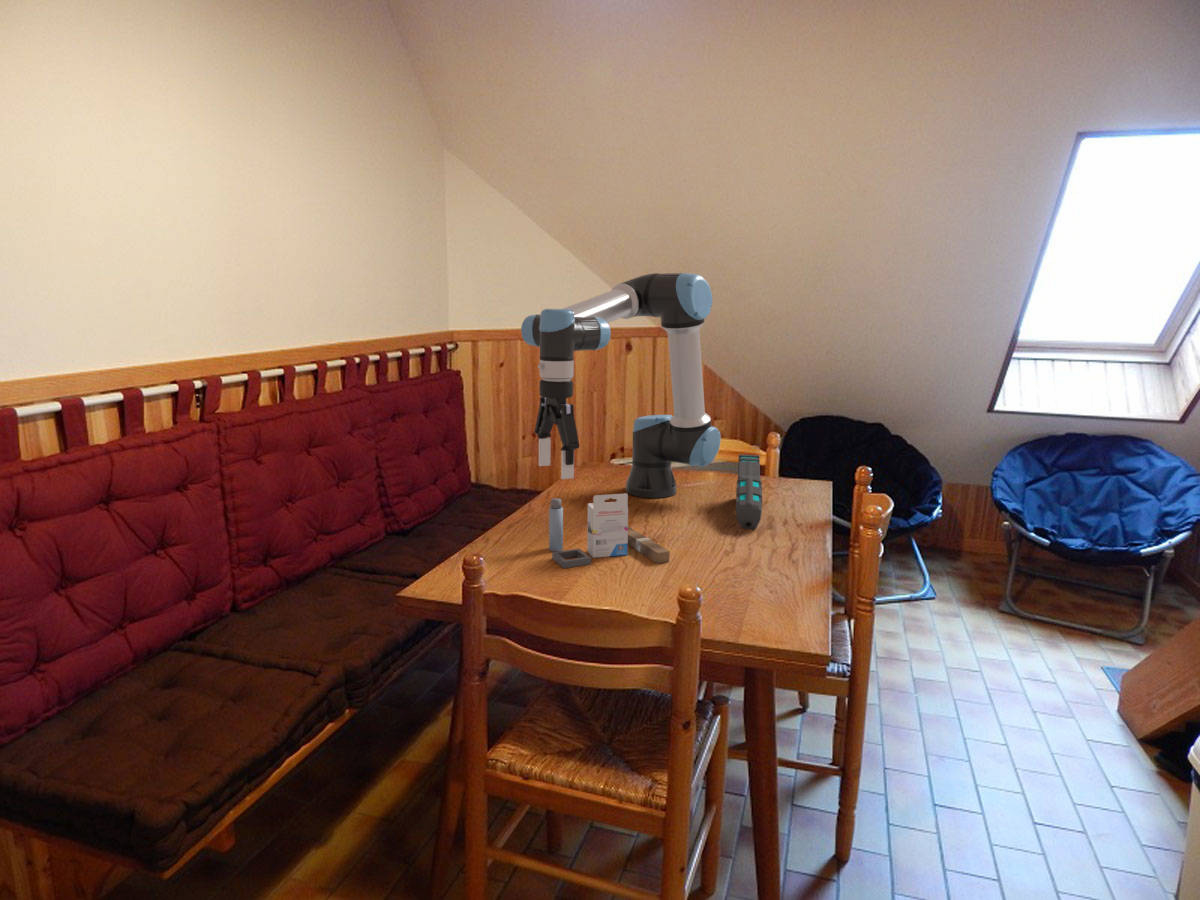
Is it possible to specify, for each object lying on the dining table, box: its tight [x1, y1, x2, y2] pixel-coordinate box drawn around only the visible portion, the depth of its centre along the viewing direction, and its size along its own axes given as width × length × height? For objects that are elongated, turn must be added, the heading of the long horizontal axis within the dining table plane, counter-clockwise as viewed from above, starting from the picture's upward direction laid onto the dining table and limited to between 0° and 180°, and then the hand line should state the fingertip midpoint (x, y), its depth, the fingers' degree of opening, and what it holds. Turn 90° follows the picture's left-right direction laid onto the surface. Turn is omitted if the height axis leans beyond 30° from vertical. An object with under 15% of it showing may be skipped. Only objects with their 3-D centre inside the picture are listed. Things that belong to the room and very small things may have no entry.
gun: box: [735, 454, 763, 530], centre depth 210 cm, size 7×29×15 cm, turn 170°
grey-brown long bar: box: [627, 526, 670, 565], centre depth 182 cm, size 24×3×3 cm, turn 26°
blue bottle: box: [548, 497, 564, 552], centre depth 179 cm, size 3×3×12 cm
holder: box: [551, 548, 592, 569], centre depth 172 cm, size 7×7×2 cm
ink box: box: [586, 492, 629, 559], centre depth 176 cm, size 8×5×15 cm, turn 105°
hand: (555, 471), depth 176 cm, fingers open, 13 cm apart
